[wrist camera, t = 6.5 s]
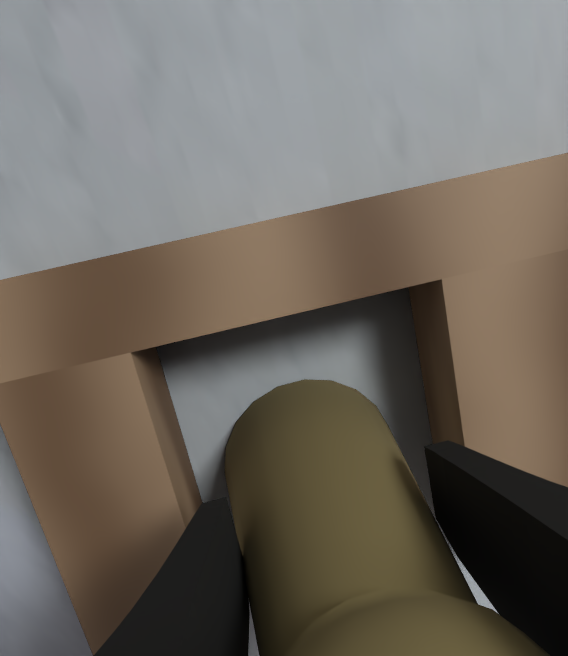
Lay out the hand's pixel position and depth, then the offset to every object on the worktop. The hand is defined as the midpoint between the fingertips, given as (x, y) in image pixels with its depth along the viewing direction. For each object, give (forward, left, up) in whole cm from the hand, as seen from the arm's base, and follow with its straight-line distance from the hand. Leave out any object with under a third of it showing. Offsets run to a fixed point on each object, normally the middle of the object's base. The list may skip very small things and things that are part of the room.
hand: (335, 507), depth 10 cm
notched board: (-3, -1, -4) cm, 5 cm away
